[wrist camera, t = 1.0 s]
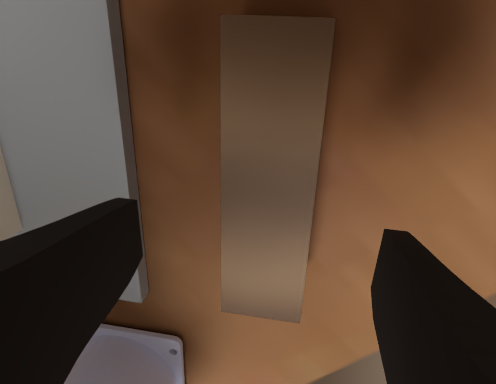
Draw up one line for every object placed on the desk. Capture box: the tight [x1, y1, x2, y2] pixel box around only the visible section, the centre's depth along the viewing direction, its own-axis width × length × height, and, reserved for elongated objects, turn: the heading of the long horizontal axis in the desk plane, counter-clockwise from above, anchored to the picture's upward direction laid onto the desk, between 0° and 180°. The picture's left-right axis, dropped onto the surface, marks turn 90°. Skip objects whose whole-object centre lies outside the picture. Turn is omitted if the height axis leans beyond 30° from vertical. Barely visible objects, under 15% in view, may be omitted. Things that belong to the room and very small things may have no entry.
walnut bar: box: [220, 15, 336, 323], centre depth 16 cm, size 12×4×4 cm, turn 178°
